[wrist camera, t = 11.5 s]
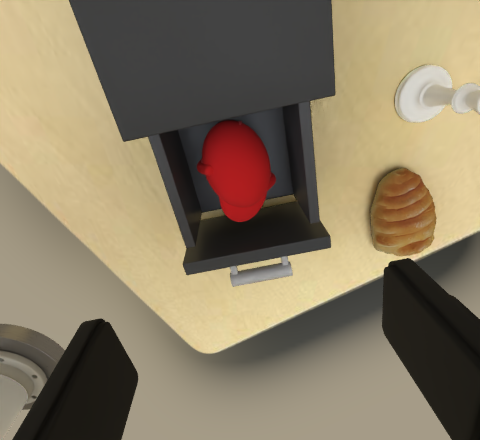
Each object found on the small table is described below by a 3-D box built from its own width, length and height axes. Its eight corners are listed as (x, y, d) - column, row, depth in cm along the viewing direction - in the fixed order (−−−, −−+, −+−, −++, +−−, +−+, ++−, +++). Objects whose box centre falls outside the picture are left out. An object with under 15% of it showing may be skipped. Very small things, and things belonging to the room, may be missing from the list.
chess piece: (443, 117, 27) (549, 135, 18) (392, 126, 27) (472, 149, 19) (451, 59, 25) (576, 49, 16) (396, 70, 25) (488, 66, 16)
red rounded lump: (187, 132, 25) (176, 147, 20) (249, 106, 24) (255, 113, 19) (222, 208, 28) (220, 238, 23) (277, 187, 28) (289, 212, 22)
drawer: (310, 242, 32) (333, 287, 25) (205, 262, 33) (199, 312, 26) (293, 69, 24) (319, 65, 17) (154, 101, 25) (126, 109, 18)
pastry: (358, 178, 30) (376, 191, 26) (422, 156, 29) (449, 166, 26) (370, 248, 34) (386, 267, 30) (427, 230, 33) (450, 248, 30)
